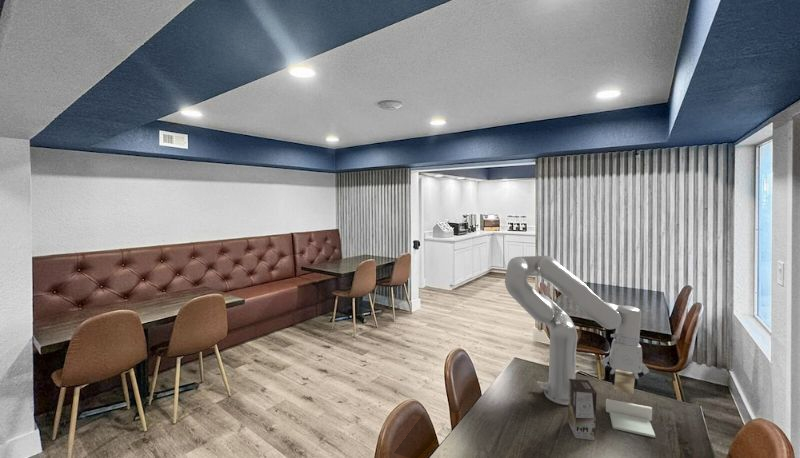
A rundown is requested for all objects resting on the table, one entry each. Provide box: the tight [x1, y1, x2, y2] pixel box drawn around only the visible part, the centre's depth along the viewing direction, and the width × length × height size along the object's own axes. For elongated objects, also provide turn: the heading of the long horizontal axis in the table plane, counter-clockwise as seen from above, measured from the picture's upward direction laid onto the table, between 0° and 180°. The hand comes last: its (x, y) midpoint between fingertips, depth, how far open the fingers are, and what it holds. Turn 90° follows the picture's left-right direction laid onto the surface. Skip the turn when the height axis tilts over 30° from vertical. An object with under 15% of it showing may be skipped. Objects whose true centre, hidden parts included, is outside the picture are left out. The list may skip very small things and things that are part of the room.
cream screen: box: [605, 398, 653, 422], centre depth 127 cm, size 14×1×4 cm, turn 66°
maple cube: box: [612, 369, 635, 395], centre depth 133 cm, size 6×6×6 cm
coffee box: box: [567, 378, 598, 441], centre depth 119 cm, size 9×6×16 cm
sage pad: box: [609, 412, 656, 438], centre depth 122 cm, size 12×9×1 cm
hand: (622, 384), depth 133 cm, fingers closed on maple cube, 6 cm apart
